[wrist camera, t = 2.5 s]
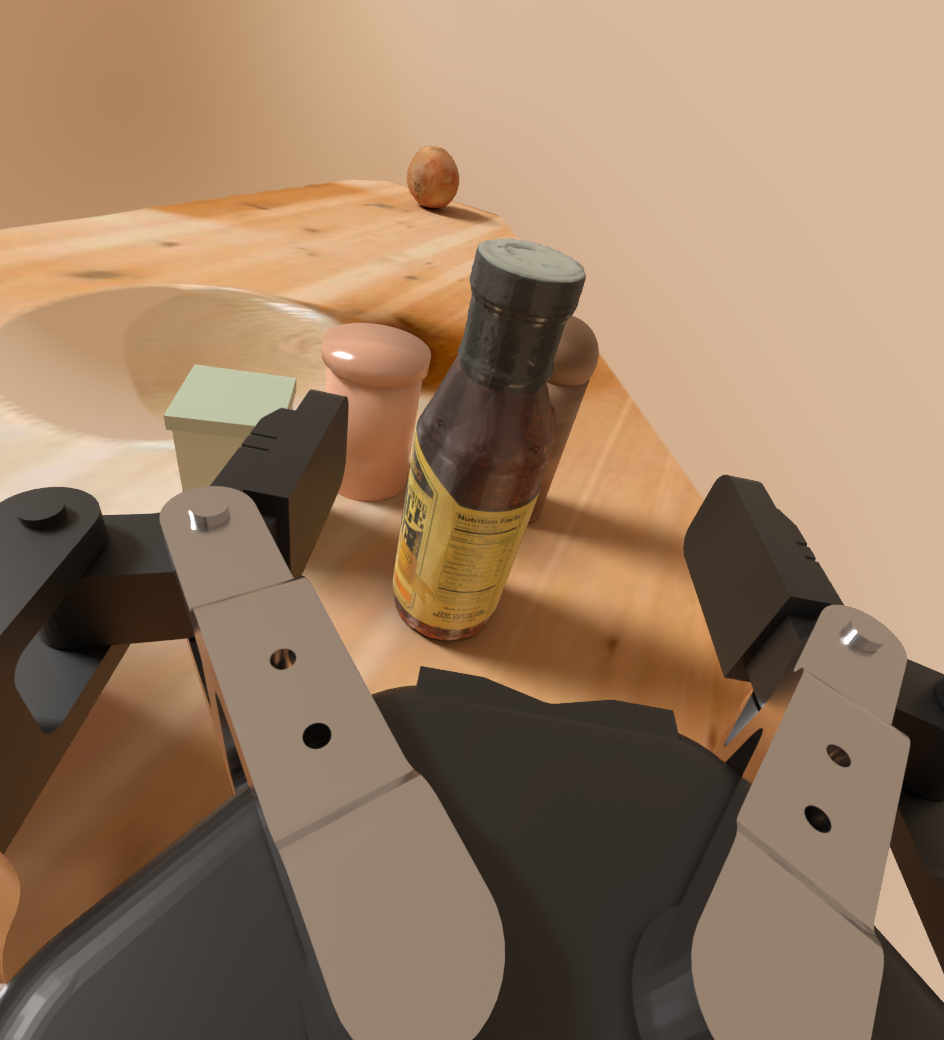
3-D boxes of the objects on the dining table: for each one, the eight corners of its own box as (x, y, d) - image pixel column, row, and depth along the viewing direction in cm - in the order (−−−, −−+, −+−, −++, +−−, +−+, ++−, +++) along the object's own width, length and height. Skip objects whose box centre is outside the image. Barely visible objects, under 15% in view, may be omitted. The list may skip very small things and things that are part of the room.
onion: (462, 211, 110) (472, 152, 103) (441, 218, 102) (451, 155, 96) (418, 197, 111) (425, 138, 105) (395, 203, 104) (401, 140, 97)
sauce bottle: (404, 556, 35) (463, 211, 22) (499, 580, 35) (612, 250, 22) (374, 636, 30) (429, 251, 17) (485, 665, 30) (620, 302, 17)
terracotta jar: (306, 492, 38) (308, 356, 31) (332, 441, 43) (338, 314, 36) (402, 512, 38) (422, 381, 32) (416, 459, 43) (436, 337, 37)
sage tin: (187, 546, 32) (163, 415, 27) (210, 488, 36) (194, 364, 31) (284, 553, 33) (281, 429, 28) (296, 496, 37) (296, 378, 32)
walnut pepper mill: (479, 518, 39) (533, 323, 30) (483, 480, 43) (533, 295, 34) (541, 531, 40) (614, 342, 31) (540, 492, 43) (605, 313, 34)
